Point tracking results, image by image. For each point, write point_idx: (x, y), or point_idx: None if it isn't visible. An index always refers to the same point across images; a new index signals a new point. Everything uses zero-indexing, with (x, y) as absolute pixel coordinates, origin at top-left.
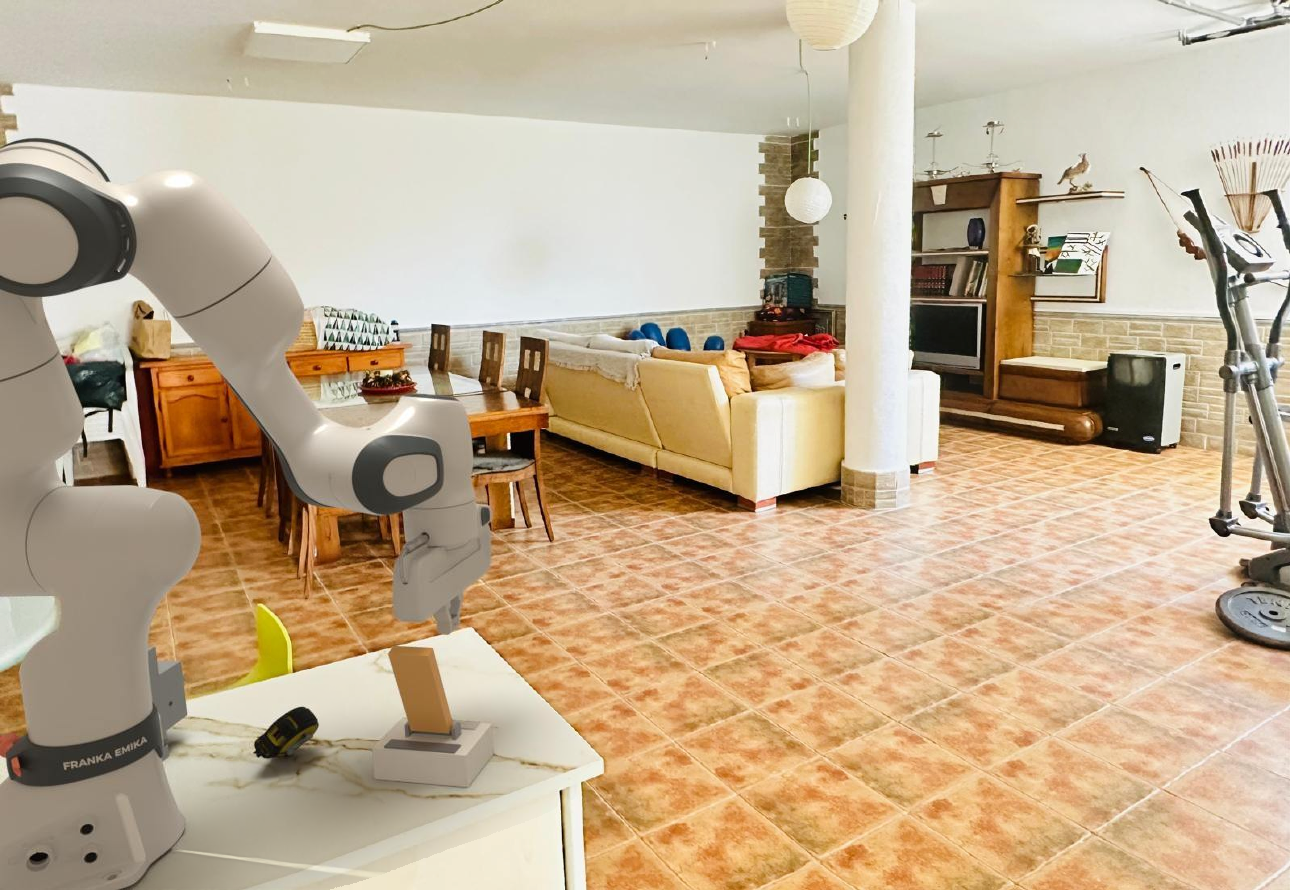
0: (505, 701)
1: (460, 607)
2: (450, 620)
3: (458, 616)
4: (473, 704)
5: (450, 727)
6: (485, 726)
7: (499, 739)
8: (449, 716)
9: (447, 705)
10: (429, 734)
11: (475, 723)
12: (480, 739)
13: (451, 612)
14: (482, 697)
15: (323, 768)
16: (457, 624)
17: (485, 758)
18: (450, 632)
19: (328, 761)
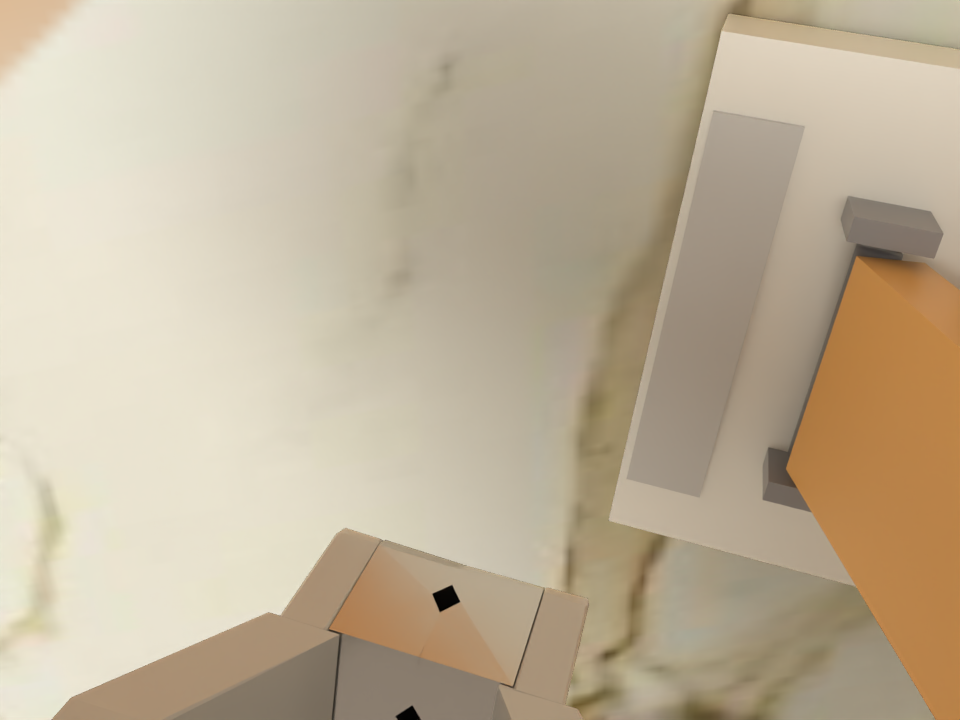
0: (188, 82)
1: (228, 651)
2: (541, 698)
3: (331, 606)
4: (238, 232)
5: (902, 266)
6: (761, 65)
7: (575, 19)
8: (917, 293)
9: (949, 331)
10: None
11: (731, 136)
12: (919, 61)
13: (315, 709)
14: (169, 205)
15: (786, 693)
16: (397, 563)
17: (848, 34)
18: (583, 601)
19: (732, 685)
